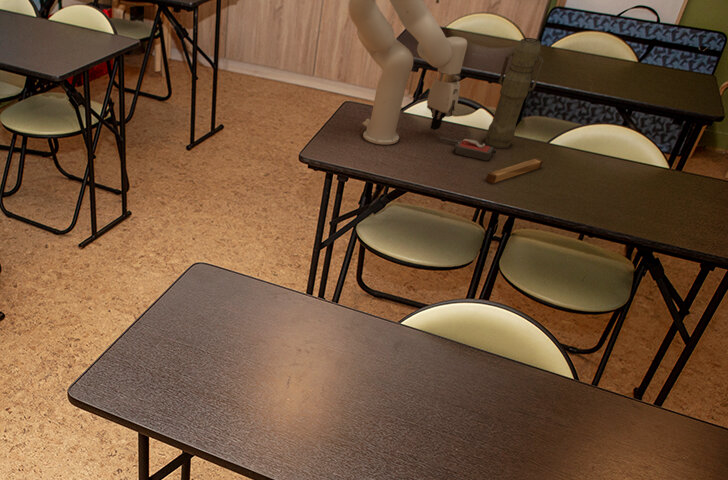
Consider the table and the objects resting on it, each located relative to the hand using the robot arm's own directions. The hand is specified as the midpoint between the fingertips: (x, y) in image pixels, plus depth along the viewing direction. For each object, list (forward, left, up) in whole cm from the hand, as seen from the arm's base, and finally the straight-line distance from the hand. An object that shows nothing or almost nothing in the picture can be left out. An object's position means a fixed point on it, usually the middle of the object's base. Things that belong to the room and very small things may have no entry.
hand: (435, 128), depth 248 cm
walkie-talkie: (+15, 0, -3) cm, 15 cm away
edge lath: (+36, 0, -3) cm, 36 cm away
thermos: (+16, +16, -3) cm, 22 cm away
